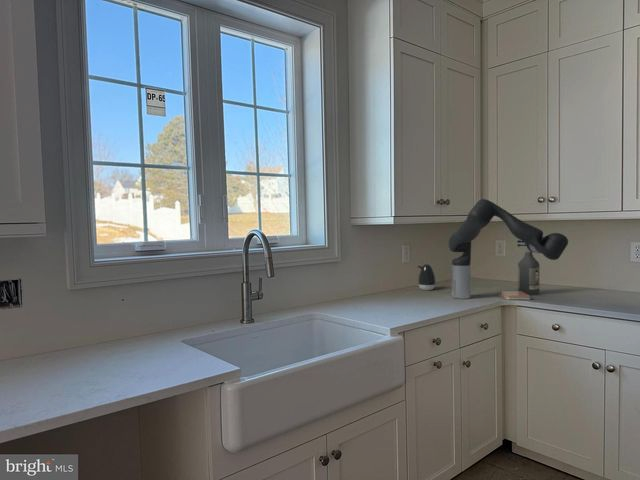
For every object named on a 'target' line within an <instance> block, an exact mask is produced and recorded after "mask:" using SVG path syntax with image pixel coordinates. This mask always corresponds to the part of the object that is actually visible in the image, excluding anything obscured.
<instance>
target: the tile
mask: <svg viewBox="0 0 640 480" xmlns="http://www.w3.org/2000/svg"><path fill="white" fill-rule="evenodd" d="M500 293H501V294H500V295H503V296H504V297H506V298H508V299H530V298H531V295H528V294H526V293H524V292H522V291H518V290H500Z"/></svg>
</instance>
